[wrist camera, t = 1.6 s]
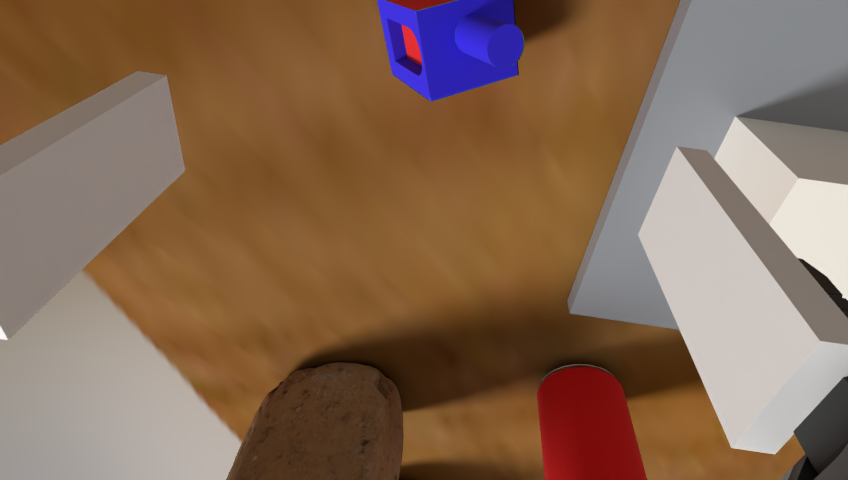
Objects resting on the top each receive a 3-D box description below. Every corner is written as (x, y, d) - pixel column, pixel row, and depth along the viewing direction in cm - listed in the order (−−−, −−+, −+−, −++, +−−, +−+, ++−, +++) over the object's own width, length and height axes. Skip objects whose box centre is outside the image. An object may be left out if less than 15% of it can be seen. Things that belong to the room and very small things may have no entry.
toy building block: (467, 52, 26) (555, 90, 20) (391, 74, 25) (457, 121, 19) (458, -24, 24) (552, -9, 18) (375, -3, 23) (444, 21, 17)
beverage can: (586, 343, 35) (624, 520, 26) (637, 387, 37) (689, 565, 28) (519, 379, 38) (529, 549, 29) (569, 417, 40) (595, 588, 31)
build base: (696, -42, 21) (774, -10, 15) (1080, 9, 21) (1307, 61, 15) (567, 300, 33) (583, 391, 27) (810, 336, 33) (879, 435, 27)
